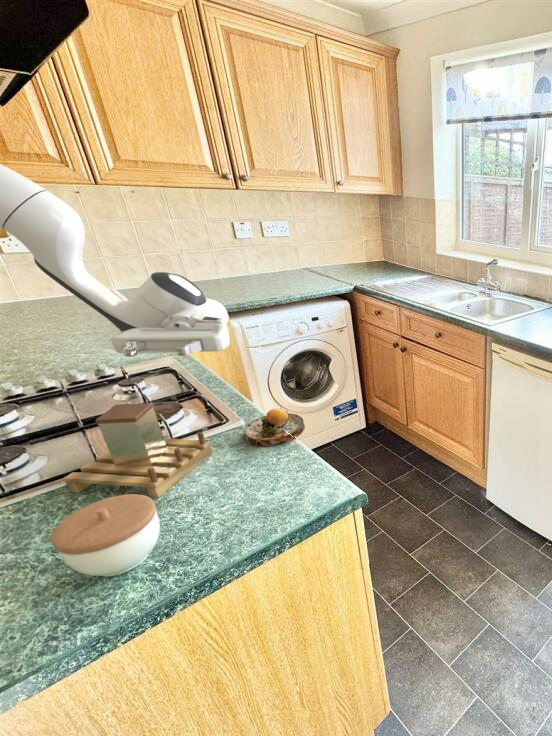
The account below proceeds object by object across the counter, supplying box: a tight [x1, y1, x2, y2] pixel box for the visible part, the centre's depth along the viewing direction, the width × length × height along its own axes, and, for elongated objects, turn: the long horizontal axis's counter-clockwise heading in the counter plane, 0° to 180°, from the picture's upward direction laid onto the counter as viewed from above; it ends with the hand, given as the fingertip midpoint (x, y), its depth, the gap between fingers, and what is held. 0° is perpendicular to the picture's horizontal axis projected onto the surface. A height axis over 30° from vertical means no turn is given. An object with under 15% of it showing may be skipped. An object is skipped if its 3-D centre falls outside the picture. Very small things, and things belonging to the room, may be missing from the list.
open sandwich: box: [243, 406, 306, 447], centre depth 93 cm, size 12×12×8 cm
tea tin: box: [95, 402, 167, 468], centre depth 76 cm, size 6×6×10 cm
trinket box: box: [50, 493, 161, 578], centre depth 59 cm, size 11×11×9 cm
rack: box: [63, 431, 213, 499], centre depth 78 cm, size 16×14×6 cm
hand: (154, 352), depth 85 cm, fingers open, 8 cm apart
